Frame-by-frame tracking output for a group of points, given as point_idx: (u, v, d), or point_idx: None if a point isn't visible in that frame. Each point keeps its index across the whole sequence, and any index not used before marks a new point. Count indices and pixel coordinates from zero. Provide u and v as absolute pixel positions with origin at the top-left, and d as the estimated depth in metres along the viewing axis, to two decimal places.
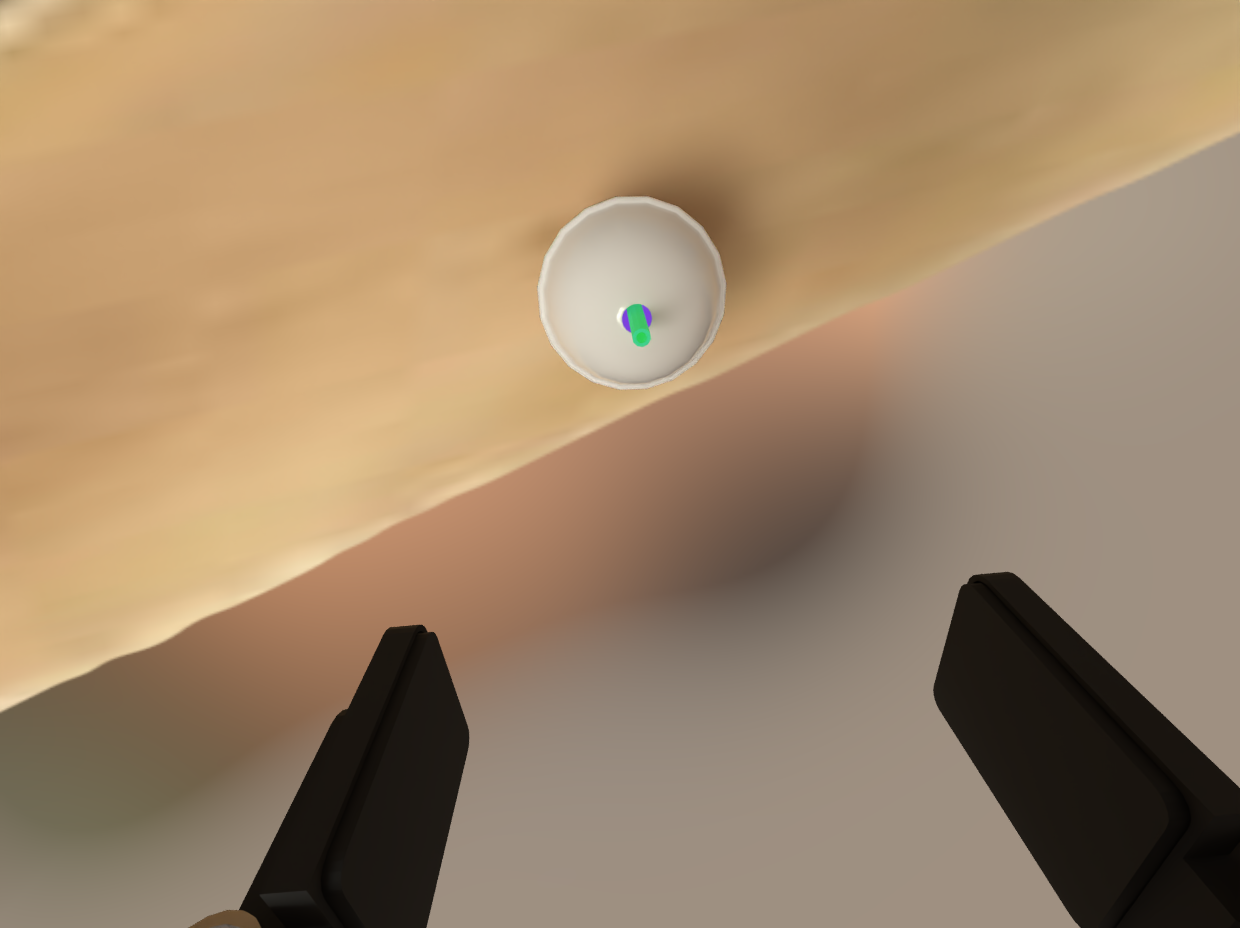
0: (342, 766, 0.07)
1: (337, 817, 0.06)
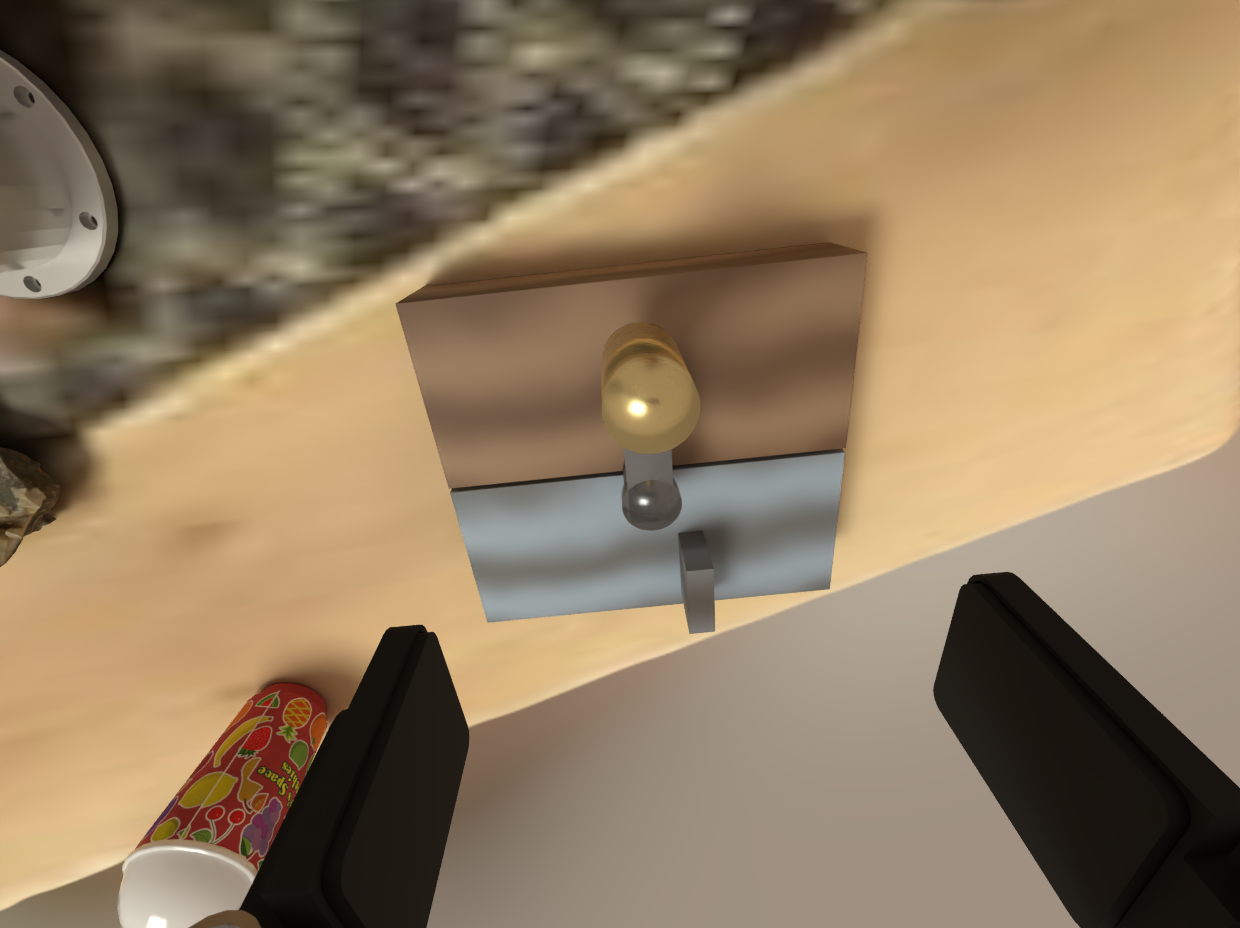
0: (342, 766, 0.07)
1: (337, 816, 0.06)
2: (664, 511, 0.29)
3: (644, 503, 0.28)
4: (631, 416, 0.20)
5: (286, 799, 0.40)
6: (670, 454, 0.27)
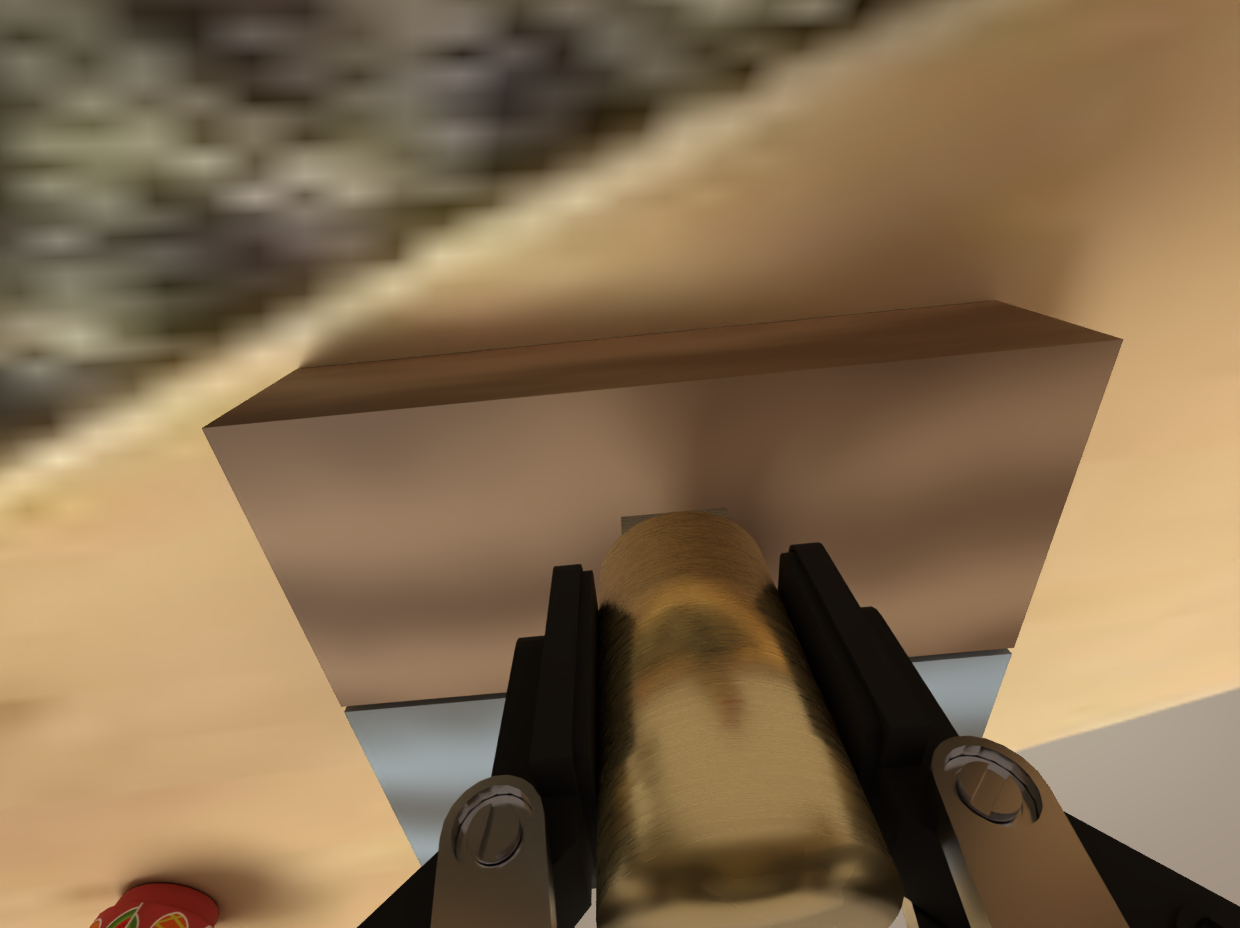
0: (560, 669, 0.08)
1: (572, 705, 0.07)
2: None
3: None
4: None
5: None
6: None
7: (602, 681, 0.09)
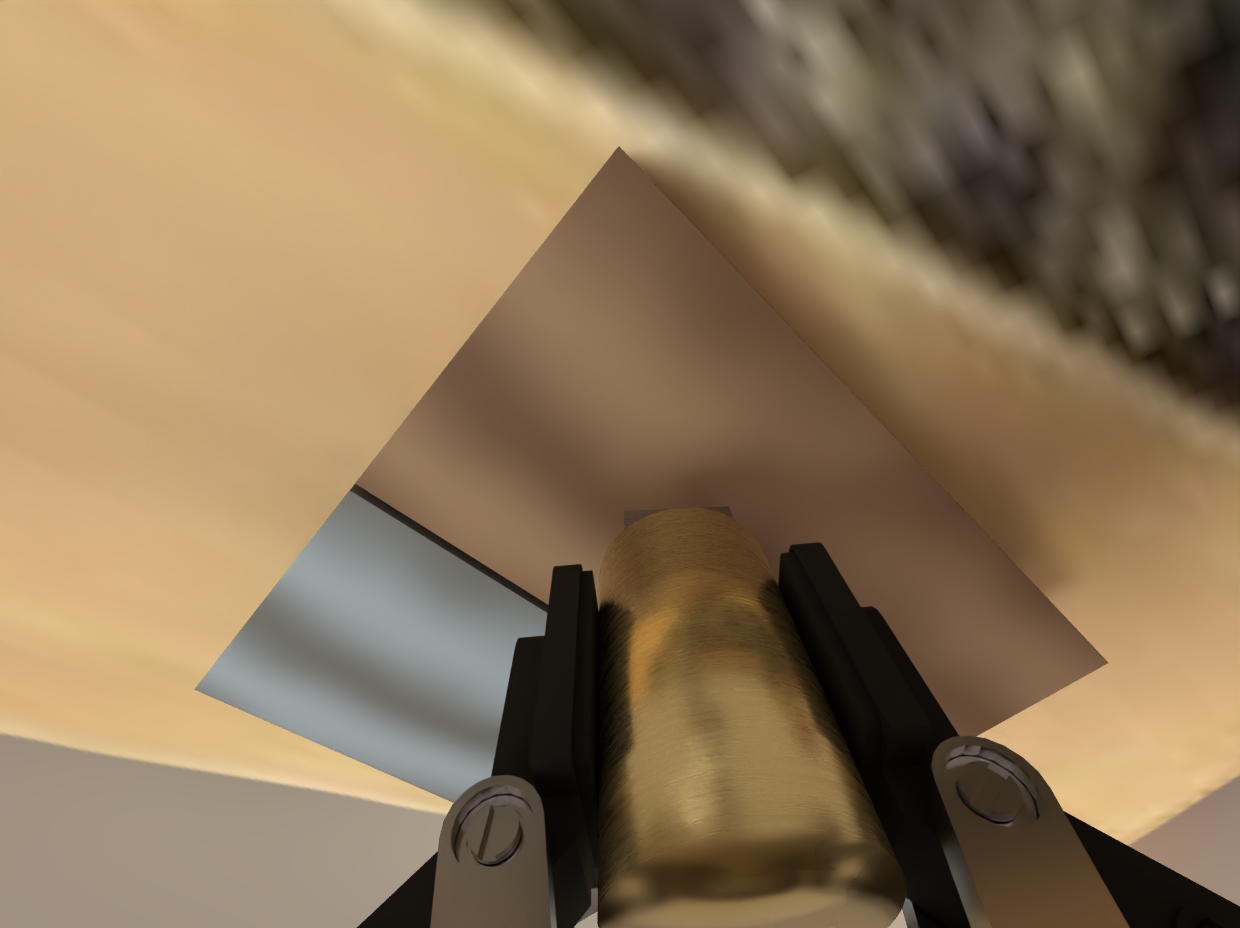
0: (559, 669, 0.08)
1: (571, 706, 0.07)
2: None
3: None
4: (687, 926, 0.06)
5: None
6: None
7: (605, 673, 0.09)
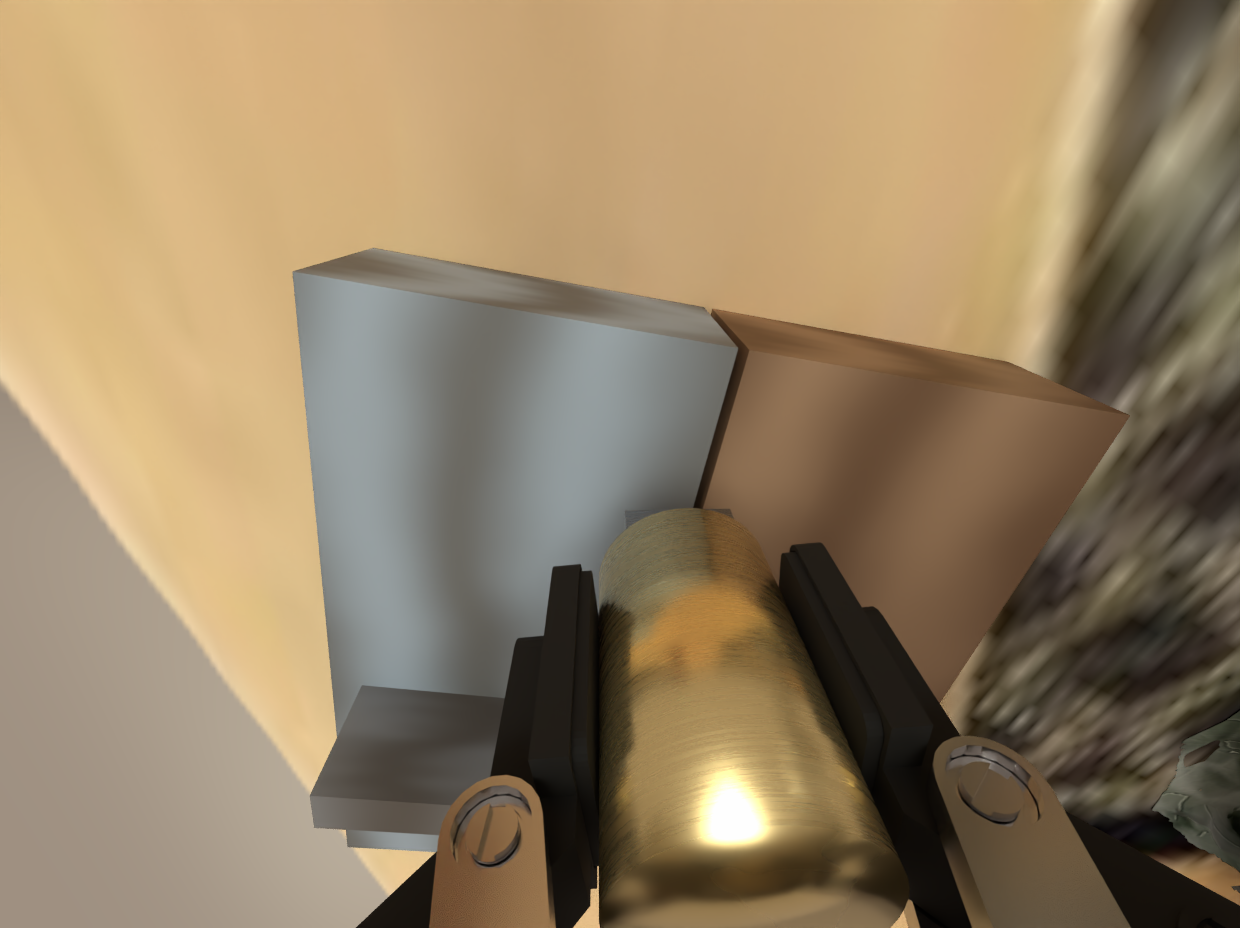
0: (559, 669, 0.08)
1: (571, 706, 0.07)
2: None
3: None
4: (688, 924, 0.06)
5: None
6: None
7: (607, 671, 0.09)
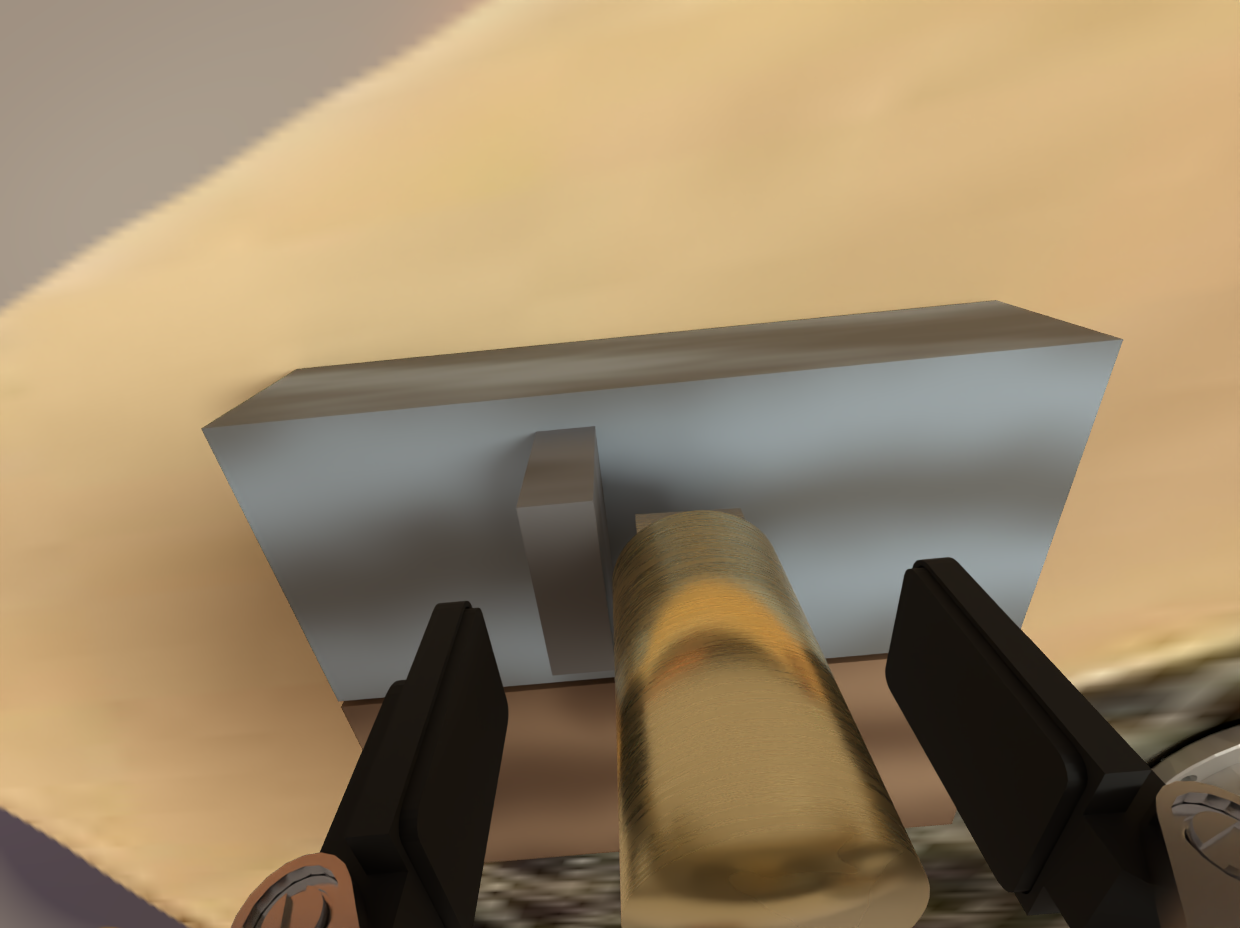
0: (408, 726, 0.07)
1: (409, 771, 0.07)
2: None
3: None
4: None
5: None
6: None
7: (621, 677, 0.09)
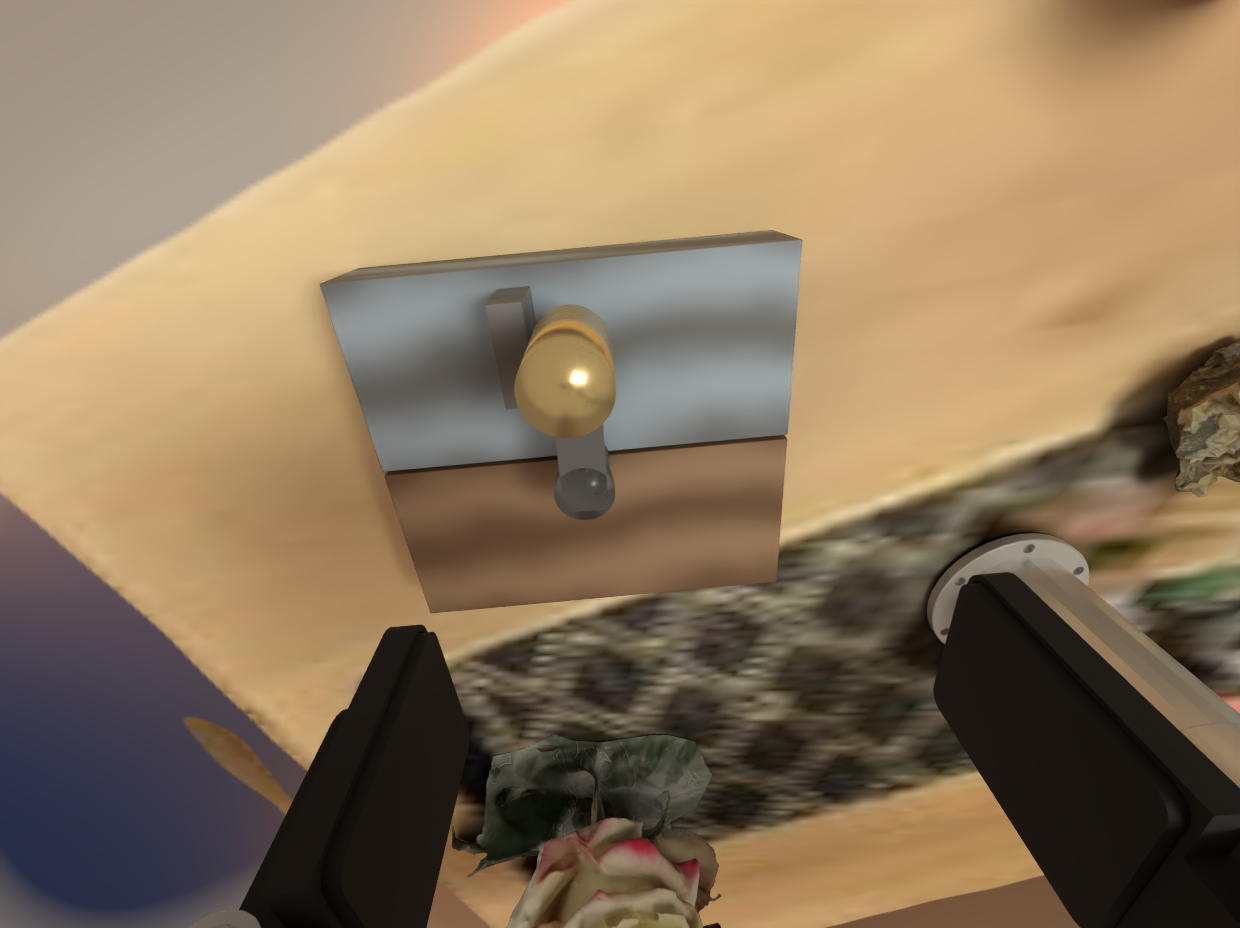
0: (342, 766, 0.07)
1: (337, 818, 0.06)
2: (597, 500, 0.28)
3: (576, 491, 0.28)
4: (545, 398, 0.19)
5: None
6: (603, 442, 0.27)
7: None
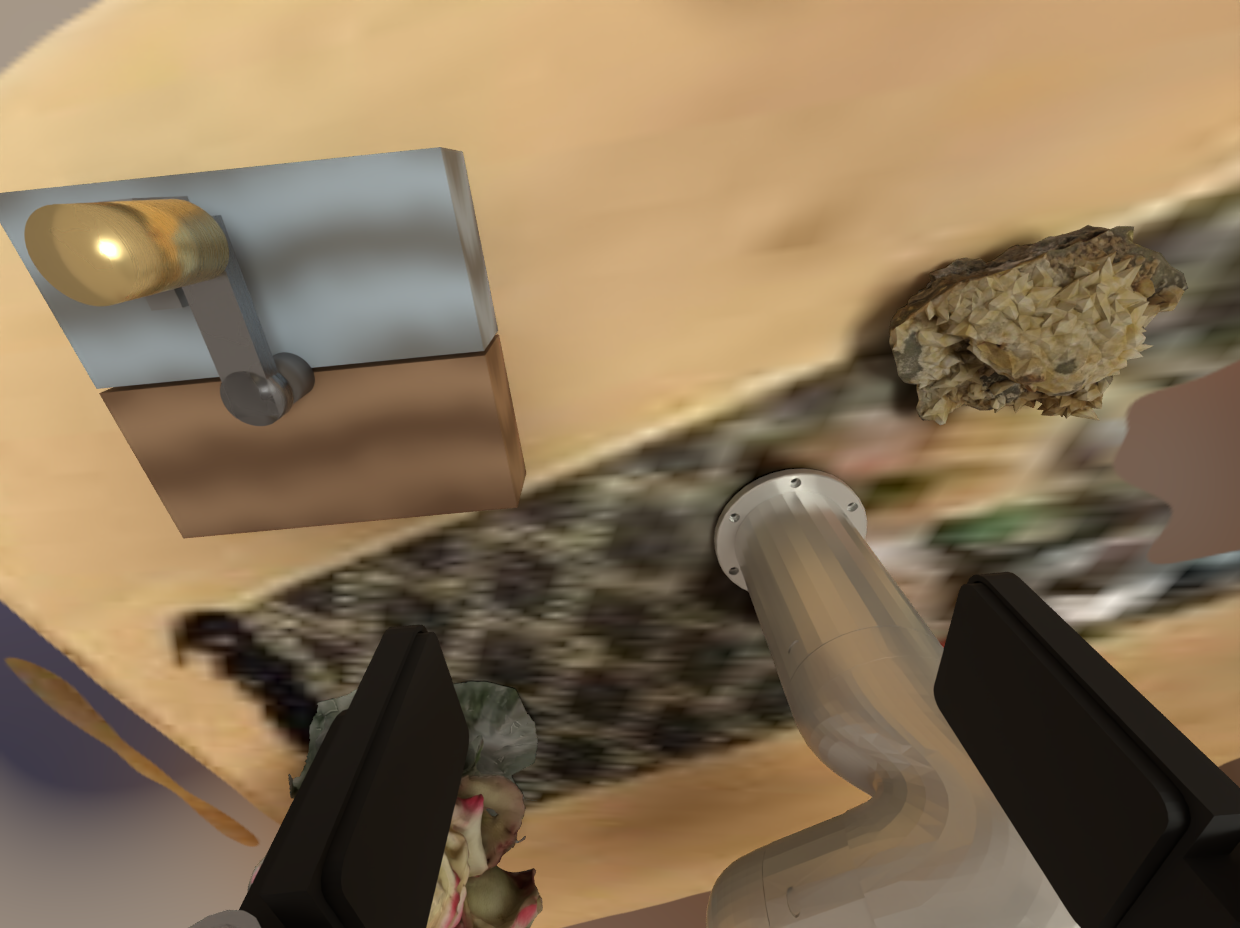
0: (342, 766, 0.07)
1: (337, 818, 0.06)
2: (266, 406, 0.29)
3: (242, 396, 0.29)
4: (62, 263, 0.20)
5: None
6: (252, 344, 0.28)
7: None
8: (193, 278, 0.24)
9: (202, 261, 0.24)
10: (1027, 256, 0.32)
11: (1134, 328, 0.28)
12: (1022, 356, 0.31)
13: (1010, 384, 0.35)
